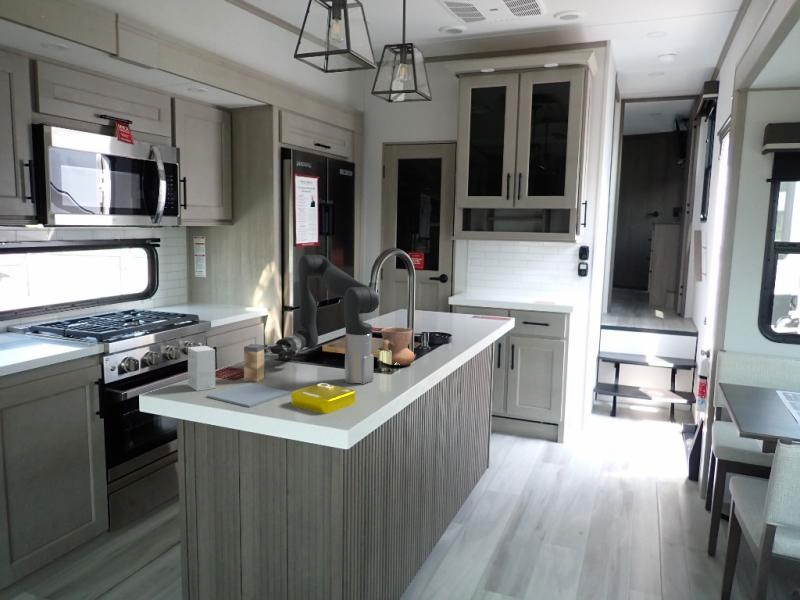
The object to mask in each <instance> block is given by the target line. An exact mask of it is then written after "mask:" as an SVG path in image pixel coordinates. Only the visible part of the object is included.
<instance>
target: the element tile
mask: <svg viewBox="0 0 800 600" xmlns="http://www.w3.org/2000/svg"><path fill="white" fill-rule="evenodd" d="M290 395H291V396H290V397H291V398H290V401H291V402H290V403H291V406H293V407H297V408H300V409H302V410H303V409H304V410H307V411H310V412H311V411H312V412H314V413H318V414H322V415H323V414H324V415H325V414H331V413H334V412H336V411H339V410H342V409H344V408H347V407H350V406H352V404H353V405H354V403H355V404H356V391H355V390H354V389H351V388H346V387H344V386H343V387H342V386H338V385H334V384H333V385H332V384H329V383H326V382H319V383H315V384H312V385H309V386H306V387H303V388H299V389H295V390H292V391H291V392H290Z"/></svg>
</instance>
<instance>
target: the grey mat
mask: <svg viewBox="0 0 800 600" xmlns="http://www.w3.org/2000/svg"><path fill="white" fill-rule="evenodd" d="M289 394H290V395H291V392H290V391H288V390H283V389H279V388H275V387H270V386H264V385H260V384H255V383H251V382H247V383H244V384H240V385H237V386H233V387H230V388H225V389H223V390H219V391H217V392H213V393H210V394H207V395H206V398H209V399H212V400H213V399H214V400H217V401H222V402H226V403H231V404H235V405H238V406H243V407H248V408H251V407H255V406H257V405H260V404H263V403H266V402H269V401H271V400H275V399H277V398H281V397H284V396H286V395H289Z"/></svg>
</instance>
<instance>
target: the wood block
mask: <svg viewBox="0 0 800 600" xmlns="http://www.w3.org/2000/svg"><path fill="white" fill-rule="evenodd" d="M264 345H265V344H257V343H256V344H255V343H250V344H247V345H245V346H243V381H244V382H253V383H259V382H260V381H262V380H264V379H265V355H264Z"/></svg>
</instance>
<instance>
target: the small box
mask: <svg viewBox="0 0 800 600" xmlns="http://www.w3.org/2000/svg"><path fill="white" fill-rule="evenodd" d="M187 385H188V386H189V387H190V388H191V389H193V390H195V391H197V392H199V391H205V390H212V389H216V349H215V348H212V347H210V346H207V345H198V346H189V347H187Z"/></svg>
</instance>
